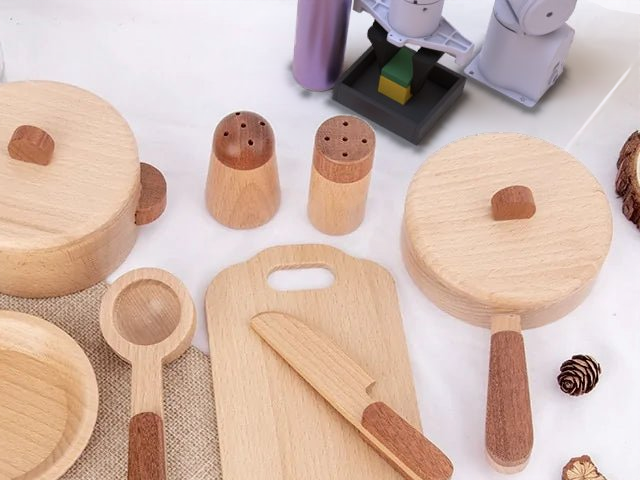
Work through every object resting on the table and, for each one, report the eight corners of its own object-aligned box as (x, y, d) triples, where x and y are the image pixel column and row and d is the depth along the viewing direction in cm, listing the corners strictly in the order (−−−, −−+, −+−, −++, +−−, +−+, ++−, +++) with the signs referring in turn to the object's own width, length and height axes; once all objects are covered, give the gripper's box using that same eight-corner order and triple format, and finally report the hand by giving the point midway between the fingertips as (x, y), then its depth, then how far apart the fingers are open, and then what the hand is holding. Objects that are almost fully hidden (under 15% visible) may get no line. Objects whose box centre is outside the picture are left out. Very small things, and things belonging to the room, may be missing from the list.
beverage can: (337, 98, 127) (350, -8, 114) (287, 89, 128) (295, -17, 115) (345, 63, 130) (359, -44, 117) (296, 54, 131) (305, -53, 118)
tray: (461, 96, 128) (466, 77, 125) (415, 148, 124) (419, 129, 121) (379, 52, 131) (382, 33, 128) (331, 101, 127) (333, 82, 124)
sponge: (423, 83, 128) (428, 61, 125) (403, 105, 126) (407, 83, 123) (397, 69, 129) (402, 47, 126) (377, 91, 127) (381, 68, 124)
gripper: (342, -22, 115) (331, 73, 127) (459, 37, 111) (436, 130, 123) (378, -57, 118) (364, 39, 130) (493, -1, 114) (467, 94, 126)
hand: (401, 81), depth 127 cm, fingers closed on sponge, 3 cm apart
